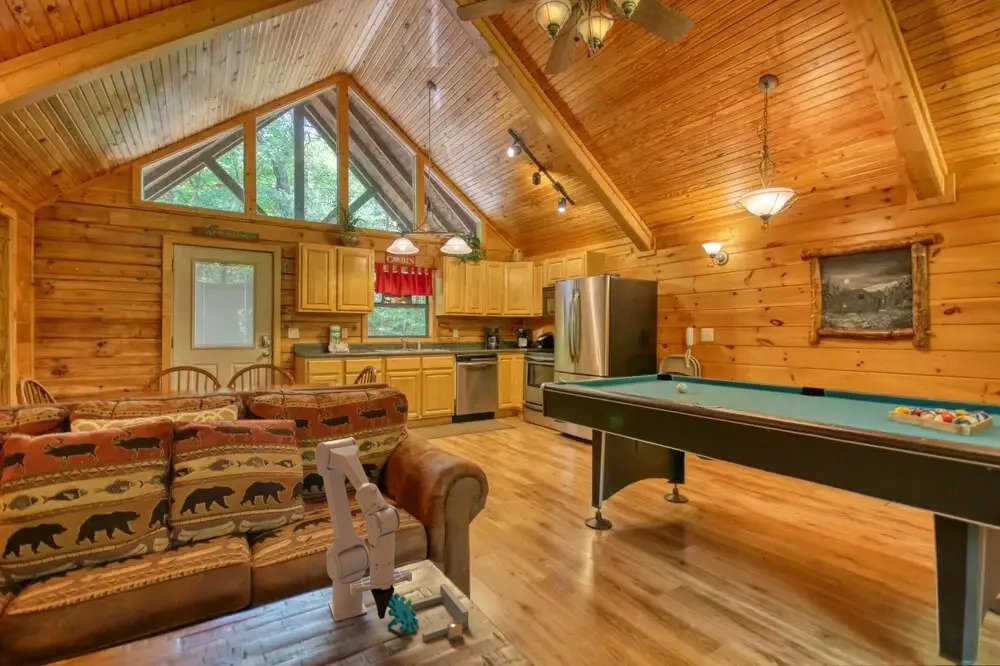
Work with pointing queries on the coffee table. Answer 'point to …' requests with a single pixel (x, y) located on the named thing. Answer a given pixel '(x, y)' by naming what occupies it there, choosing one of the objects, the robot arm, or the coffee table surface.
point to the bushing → (454, 631)
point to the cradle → (452, 605)
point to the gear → (402, 614)
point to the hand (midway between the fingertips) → (381, 616)
